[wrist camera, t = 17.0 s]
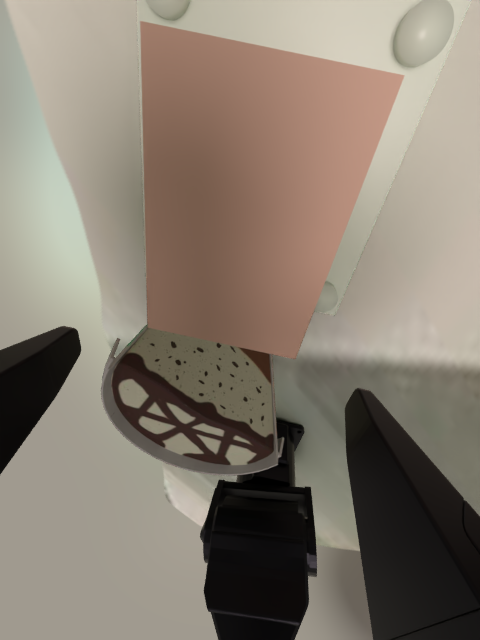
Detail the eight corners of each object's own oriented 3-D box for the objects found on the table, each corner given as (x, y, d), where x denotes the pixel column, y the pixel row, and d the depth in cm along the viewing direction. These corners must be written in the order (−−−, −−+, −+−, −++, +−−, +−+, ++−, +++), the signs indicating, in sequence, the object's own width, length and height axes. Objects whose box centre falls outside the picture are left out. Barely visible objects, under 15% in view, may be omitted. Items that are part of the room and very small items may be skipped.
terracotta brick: (292, 292, 15) (295, 359, 10) (185, 269, 15) (147, 327, 11) (355, 93, 10) (404, 75, 6) (199, 61, 10) (140, 21, 6)
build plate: (332, 305, 22) (336, 322, 20) (153, 267, 22) (140, 281, 20) (456, 4, 13) (486, -16, 11) (147, -56, 13) (124, -85, 11)
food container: (133, 322, 26) (62, 417, 17) (165, 274, 22) (98, 363, 14) (242, 391, 29) (225, 498, 21) (284, 357, 26) (284, 468, 18)
